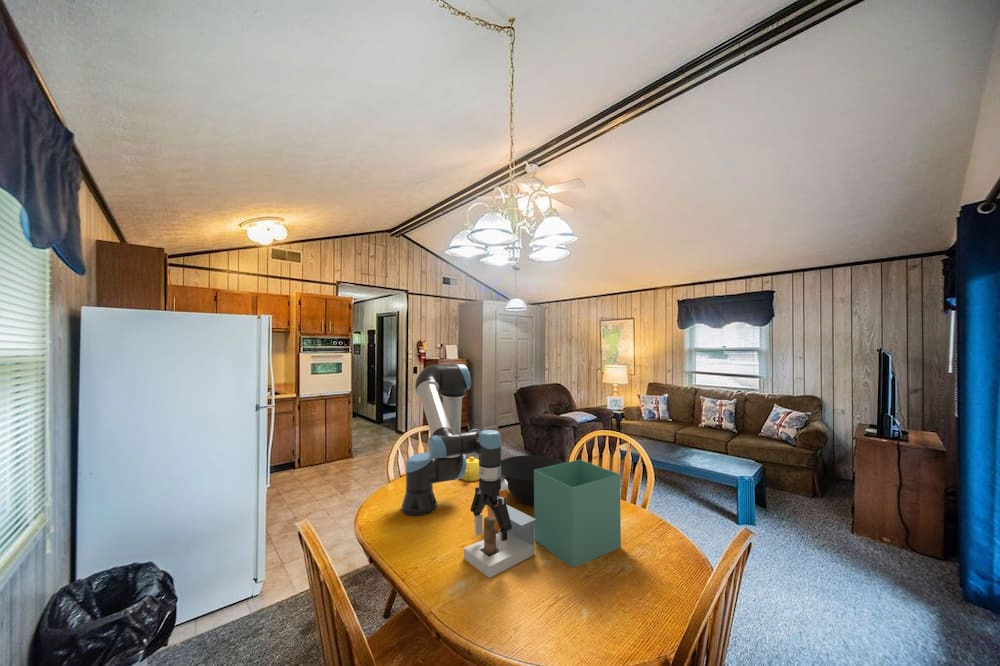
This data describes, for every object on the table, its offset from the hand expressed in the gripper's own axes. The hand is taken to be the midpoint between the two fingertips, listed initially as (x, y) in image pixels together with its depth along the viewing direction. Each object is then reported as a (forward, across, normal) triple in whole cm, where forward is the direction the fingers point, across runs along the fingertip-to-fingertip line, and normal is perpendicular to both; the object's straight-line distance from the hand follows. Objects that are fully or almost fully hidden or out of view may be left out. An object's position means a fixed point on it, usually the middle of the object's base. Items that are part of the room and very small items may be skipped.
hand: (490, 541), depth 127 cm
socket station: (+6, 0, +4) cm, 8 cm away
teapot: (+7, -67, +40) cm, 78 cm away
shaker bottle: (+7, -17, +17) cm, 25 cm away
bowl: (+7, -27, +47) cm, 55 cm away
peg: (+6, 0, 0) cm, 6 cm away
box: (+7, +12, +31) cm, 34 cm away
